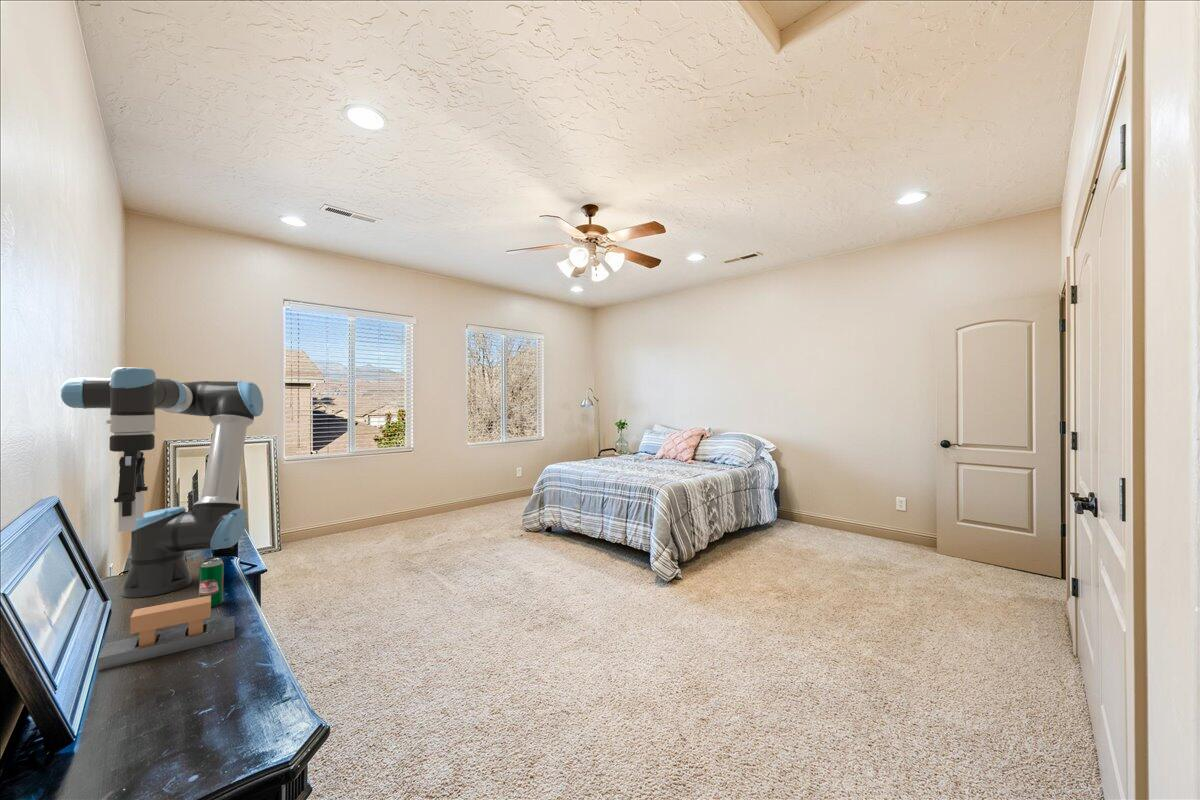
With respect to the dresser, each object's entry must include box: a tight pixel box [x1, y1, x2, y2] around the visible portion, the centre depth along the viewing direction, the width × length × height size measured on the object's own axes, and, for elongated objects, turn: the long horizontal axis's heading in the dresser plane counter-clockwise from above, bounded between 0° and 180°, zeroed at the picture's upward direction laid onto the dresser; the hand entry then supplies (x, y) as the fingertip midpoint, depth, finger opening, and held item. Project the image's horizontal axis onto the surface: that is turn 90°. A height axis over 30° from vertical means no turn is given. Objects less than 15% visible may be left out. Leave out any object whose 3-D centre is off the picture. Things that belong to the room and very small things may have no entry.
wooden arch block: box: [129, 595, 212, 647], centre depth 106 cm, size 5×13×9 cm, turn 128°
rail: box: [96, 615, 236, 672], centre depth 106 cm, size 8×22×2 cm, turn 128°
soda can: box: [198, 557, 225, 608], centre depth 128 cm, size 5×5×12 cm
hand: (131, 524), depth 110 cm, fingers open, 13 cm apart
